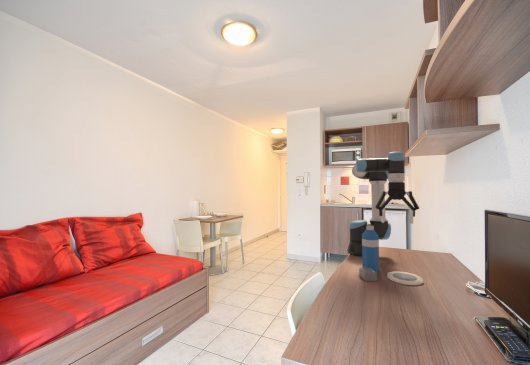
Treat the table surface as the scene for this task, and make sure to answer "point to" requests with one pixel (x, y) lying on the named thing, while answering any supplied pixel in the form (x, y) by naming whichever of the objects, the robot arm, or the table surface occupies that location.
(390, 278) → the cream plate
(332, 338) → the table surface
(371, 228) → the water bottle
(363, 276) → the box
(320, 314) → the table surface
